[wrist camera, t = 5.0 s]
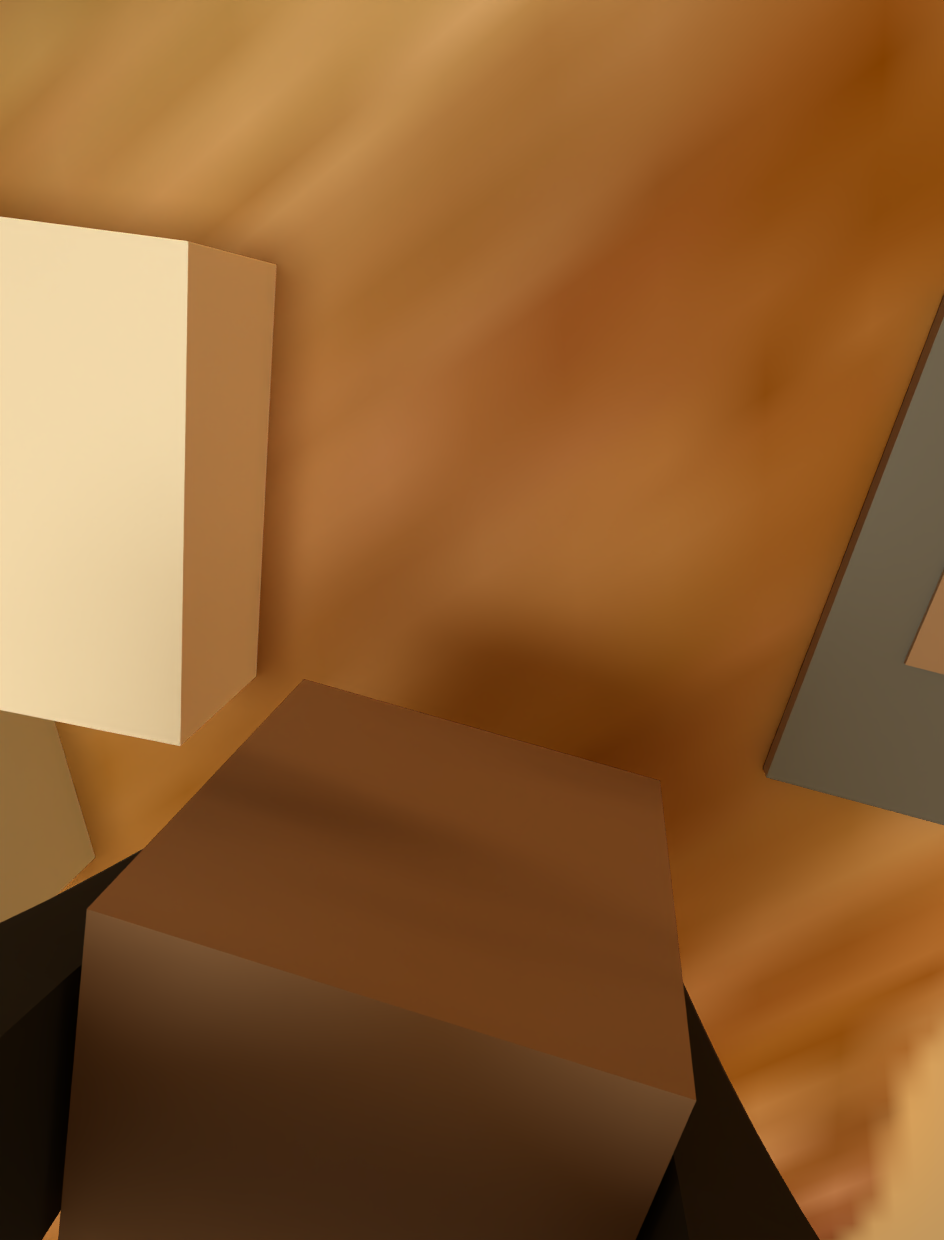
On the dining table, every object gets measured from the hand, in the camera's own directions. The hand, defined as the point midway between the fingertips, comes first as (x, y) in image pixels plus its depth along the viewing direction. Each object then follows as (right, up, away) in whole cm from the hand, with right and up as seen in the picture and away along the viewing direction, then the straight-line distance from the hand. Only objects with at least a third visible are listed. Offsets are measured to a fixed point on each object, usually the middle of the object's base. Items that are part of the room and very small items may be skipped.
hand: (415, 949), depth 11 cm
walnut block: (0, +1, +1) cm, 2 cm away
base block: (-8, +8, +8) cm, 14 cm away
